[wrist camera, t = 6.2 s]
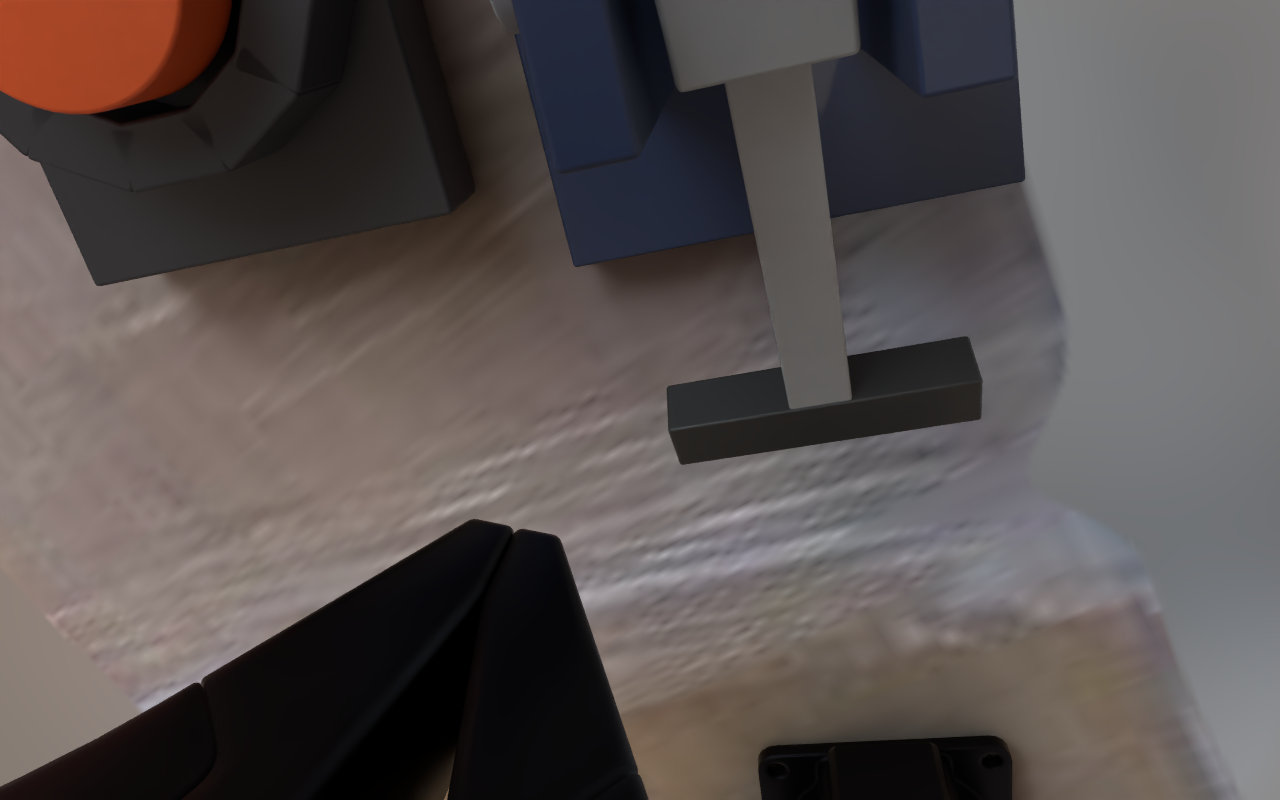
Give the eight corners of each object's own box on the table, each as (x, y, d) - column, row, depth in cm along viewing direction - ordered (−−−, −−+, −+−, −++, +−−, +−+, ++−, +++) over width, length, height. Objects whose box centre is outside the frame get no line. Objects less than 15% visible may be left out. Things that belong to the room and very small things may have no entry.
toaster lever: (960, 348, 19) (990, 449, 17) (677, 395, 20) (681, 495, 18) (965, -329, 11) (1023, -253, 9) (482, -193, 12) (460, -104, 10)
